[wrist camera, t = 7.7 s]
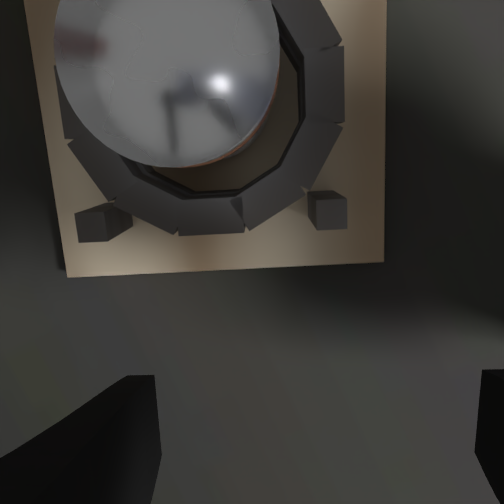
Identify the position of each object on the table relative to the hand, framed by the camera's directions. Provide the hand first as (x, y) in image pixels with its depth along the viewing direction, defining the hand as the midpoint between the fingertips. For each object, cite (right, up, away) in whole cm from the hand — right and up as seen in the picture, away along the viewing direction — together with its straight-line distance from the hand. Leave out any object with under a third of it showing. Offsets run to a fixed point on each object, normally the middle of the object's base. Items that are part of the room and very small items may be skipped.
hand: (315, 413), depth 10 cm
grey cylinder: (-3, +9, +7) cm, 12 cm away
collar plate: (-3, +9, +7) cm, 12 cm away
